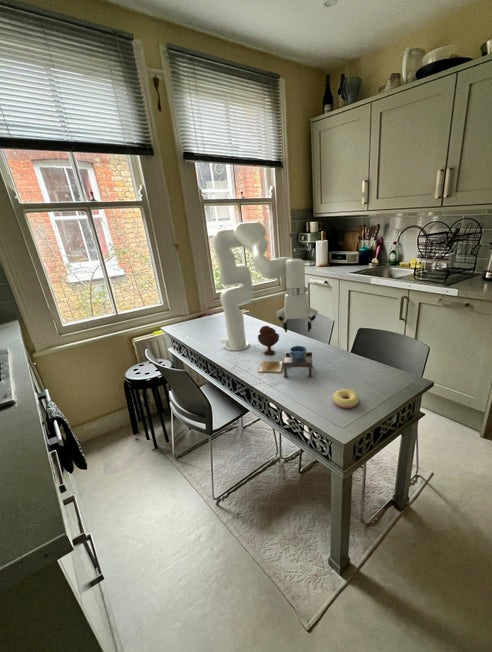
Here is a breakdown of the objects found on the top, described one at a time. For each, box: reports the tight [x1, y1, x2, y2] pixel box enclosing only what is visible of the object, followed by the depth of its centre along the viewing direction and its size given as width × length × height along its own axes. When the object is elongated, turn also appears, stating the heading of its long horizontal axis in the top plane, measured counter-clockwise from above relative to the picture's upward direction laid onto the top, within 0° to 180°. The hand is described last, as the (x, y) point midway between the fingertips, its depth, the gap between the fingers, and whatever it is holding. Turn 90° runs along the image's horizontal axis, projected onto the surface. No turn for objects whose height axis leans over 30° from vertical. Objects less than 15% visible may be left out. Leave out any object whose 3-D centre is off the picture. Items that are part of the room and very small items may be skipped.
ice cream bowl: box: [257, 325, 280, 356], centre depth 158 cm, size 11×11×15 cm
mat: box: [258, 361, 284, 374], centre depth 147 cm, size 10×10×1 cm
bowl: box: [288, 345, 307, 362], centre depth 138 cm, size 7×7×5 cm
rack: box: [282, 351, 313, 379], centre depth 140 cm, size 12×11×7 cm
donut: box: [332, 388, 360, 409], centre depth 117 cm, size 10×5×9 cm
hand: (297, 331), depth 134 cm, fingers open, 9 cm apart
